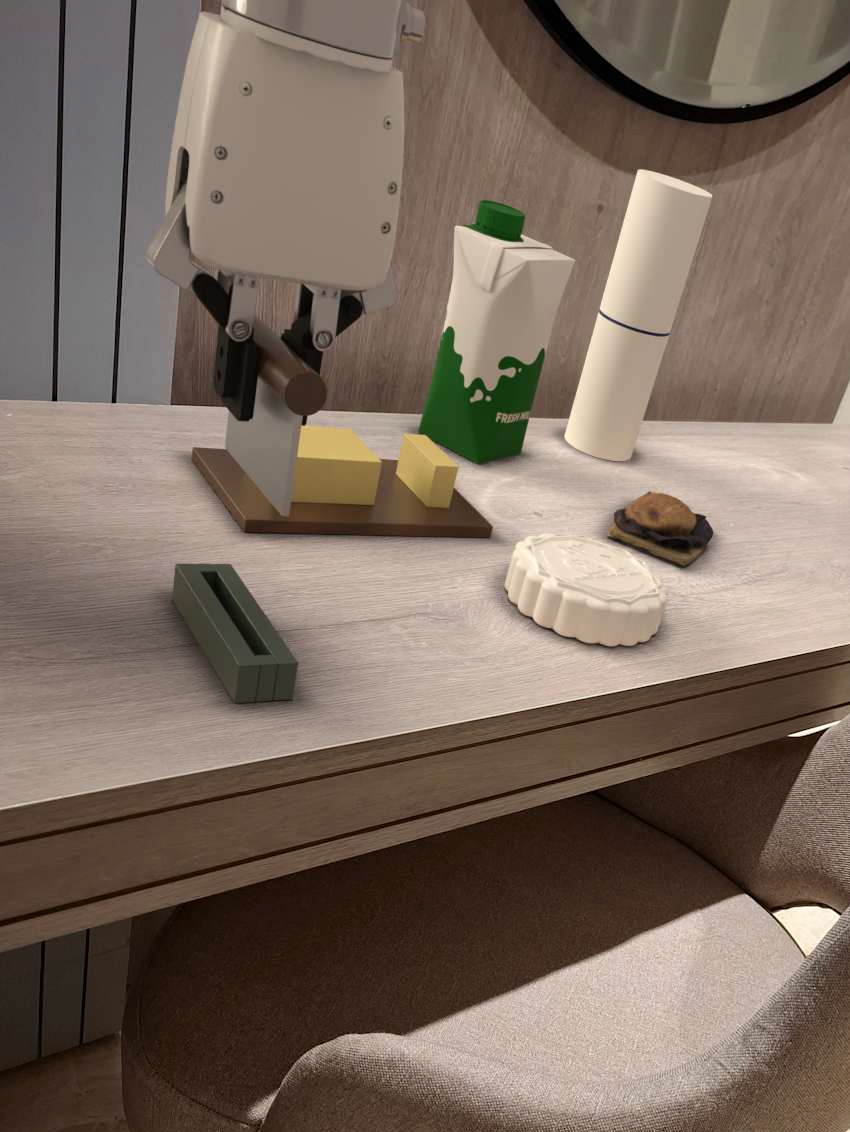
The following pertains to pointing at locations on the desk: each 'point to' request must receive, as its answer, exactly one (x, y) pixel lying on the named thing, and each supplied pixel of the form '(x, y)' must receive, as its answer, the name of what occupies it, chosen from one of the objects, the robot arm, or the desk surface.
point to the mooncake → (586, 589)
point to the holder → (234, 633)
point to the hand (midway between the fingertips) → (262, 410)
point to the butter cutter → (275, 418)
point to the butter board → (339, 506)
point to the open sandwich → (663, 527)
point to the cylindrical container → (636, 314)
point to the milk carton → (493, 335)
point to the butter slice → (426, 470)
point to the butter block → (334, 468)
